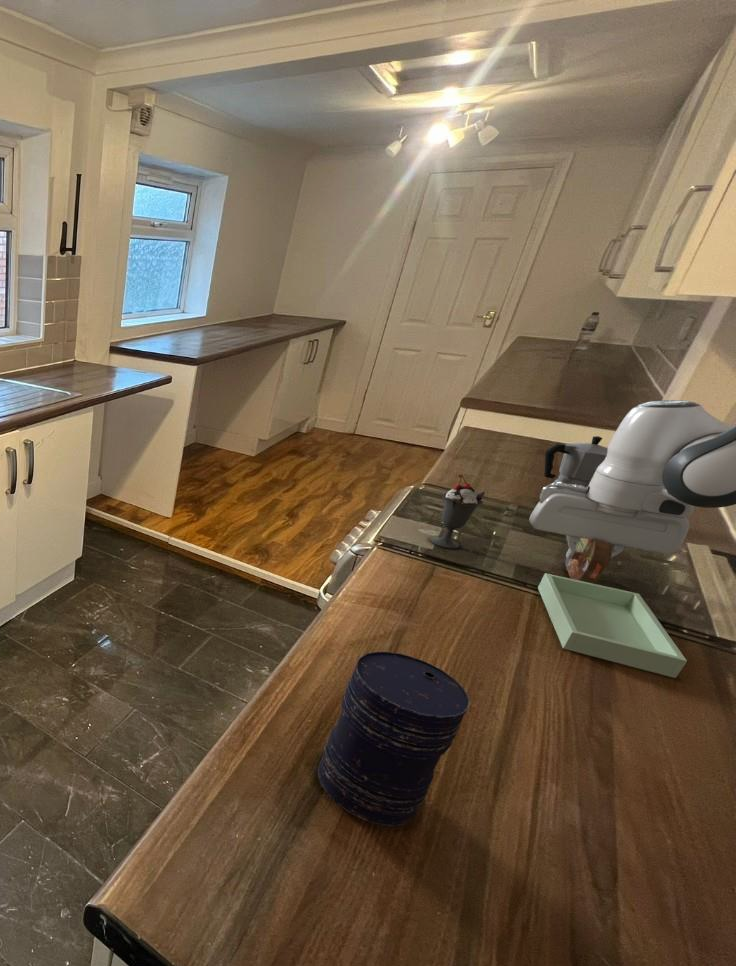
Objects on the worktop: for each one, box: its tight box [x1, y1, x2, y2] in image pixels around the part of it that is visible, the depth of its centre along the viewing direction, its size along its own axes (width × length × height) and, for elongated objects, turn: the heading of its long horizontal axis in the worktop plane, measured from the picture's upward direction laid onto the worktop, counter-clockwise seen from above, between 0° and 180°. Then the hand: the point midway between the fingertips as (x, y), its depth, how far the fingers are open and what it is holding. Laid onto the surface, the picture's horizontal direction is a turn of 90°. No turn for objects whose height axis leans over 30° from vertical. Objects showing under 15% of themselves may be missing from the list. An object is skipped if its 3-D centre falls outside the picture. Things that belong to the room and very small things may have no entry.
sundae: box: [430, 474, 486, 550], centre depth 117 cm, size 7×7×15 cm
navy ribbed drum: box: [317, 651, 470, 827], centre depth 60 cm, size 10×10×15 cm
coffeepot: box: [543, 435, 608, 487], centre depth 136 cm, size 15×9×18 cm, turn 79°
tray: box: [537, 572, 688, 679], centre depth 93 cm, size 13×22×3 cm, turn 149°
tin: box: [564, 538, 612, 584], centre depth 108 cm, size 15×3×8 cm, turn 145°
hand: (585, 560), depth 108 cm, fingers closed on tin, 2 cm apart
